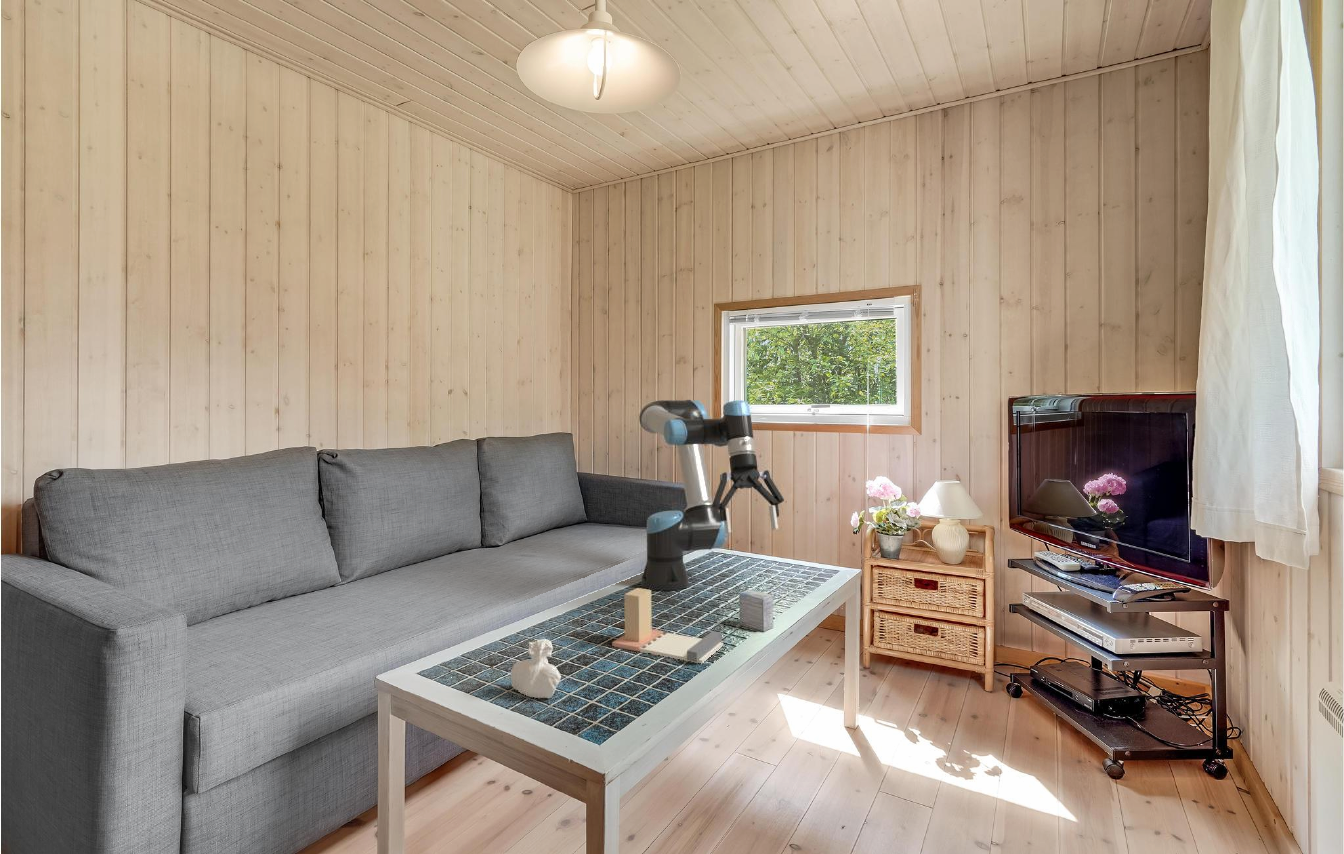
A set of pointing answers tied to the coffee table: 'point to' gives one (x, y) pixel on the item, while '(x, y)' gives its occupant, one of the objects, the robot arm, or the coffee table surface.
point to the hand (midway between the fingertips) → (752, 531)
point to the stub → (637, 621)
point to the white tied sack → (536, 672)
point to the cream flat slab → (684, 646)
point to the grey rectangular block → (756, 610)
